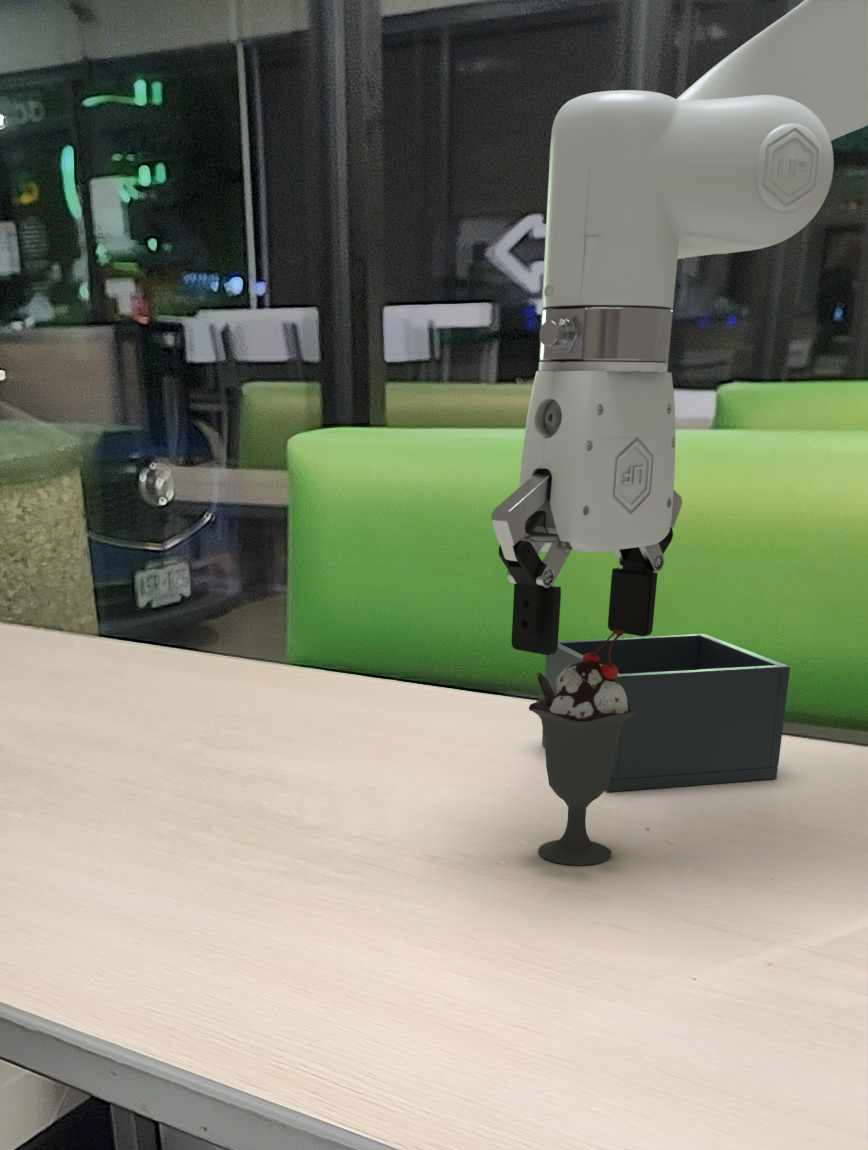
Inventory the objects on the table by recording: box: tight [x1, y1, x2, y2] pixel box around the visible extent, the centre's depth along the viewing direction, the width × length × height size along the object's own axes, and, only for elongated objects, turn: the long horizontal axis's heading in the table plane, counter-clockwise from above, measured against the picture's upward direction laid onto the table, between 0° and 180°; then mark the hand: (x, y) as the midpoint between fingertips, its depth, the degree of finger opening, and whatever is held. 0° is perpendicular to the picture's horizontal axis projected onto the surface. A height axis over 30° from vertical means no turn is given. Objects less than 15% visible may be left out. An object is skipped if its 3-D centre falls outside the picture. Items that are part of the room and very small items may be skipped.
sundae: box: [528, 629, 635, 866], centre depth 87 cm, size 7×7×15 cm
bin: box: [541, 633, 791, 793], centre depth 109 cm, size 15×15×9 cm
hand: (583, 642), depth 84 cm, fingers open, 9 cm apart
